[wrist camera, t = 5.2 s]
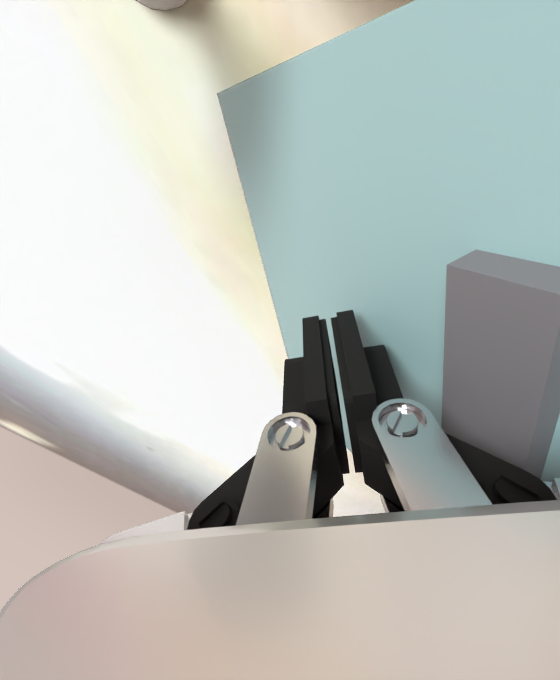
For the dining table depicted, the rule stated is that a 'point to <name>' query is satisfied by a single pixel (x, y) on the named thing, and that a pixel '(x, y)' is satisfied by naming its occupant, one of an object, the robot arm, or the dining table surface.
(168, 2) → the chalice
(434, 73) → the lid
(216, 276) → the dining table surface
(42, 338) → the dining table surface
